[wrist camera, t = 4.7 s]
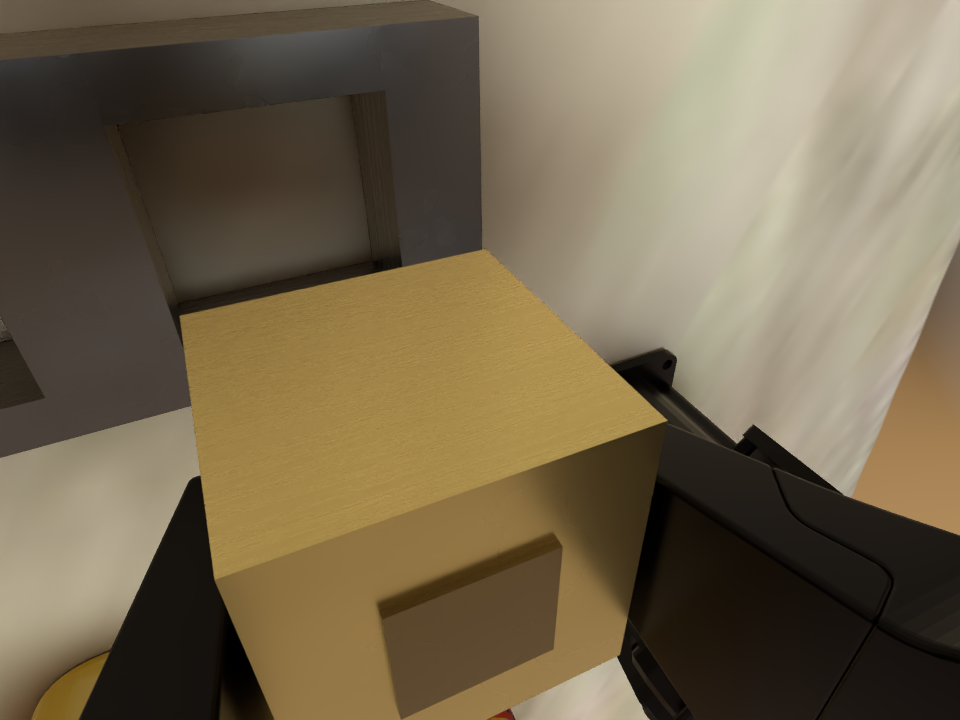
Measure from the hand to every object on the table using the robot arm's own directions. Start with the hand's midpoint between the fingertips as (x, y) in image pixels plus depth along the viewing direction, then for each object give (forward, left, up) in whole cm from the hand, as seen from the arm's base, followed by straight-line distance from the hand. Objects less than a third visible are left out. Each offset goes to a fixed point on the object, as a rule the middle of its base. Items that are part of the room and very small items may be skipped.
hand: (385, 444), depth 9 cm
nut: (0, 0, -1) cm, 1 cm away
